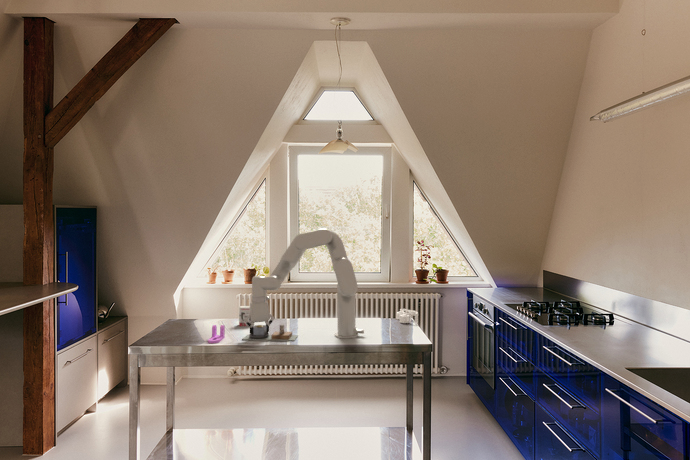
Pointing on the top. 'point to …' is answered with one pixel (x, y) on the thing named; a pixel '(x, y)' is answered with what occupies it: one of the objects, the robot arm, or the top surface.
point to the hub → (259, 336)
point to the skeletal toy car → (406, 315)
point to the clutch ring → (259, 330)
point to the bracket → (215, 337)
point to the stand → (281, 334)
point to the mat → (271, 339)
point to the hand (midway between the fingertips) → (259, 333)
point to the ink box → (243, 315)
